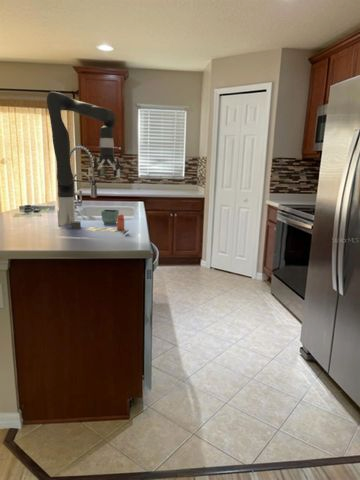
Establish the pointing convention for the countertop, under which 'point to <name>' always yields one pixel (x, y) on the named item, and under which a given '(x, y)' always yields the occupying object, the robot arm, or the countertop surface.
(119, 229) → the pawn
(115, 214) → the flower pot
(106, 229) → the board
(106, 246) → the countertop surface
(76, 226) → the die
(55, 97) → the robot arm
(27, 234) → the countertop surface
